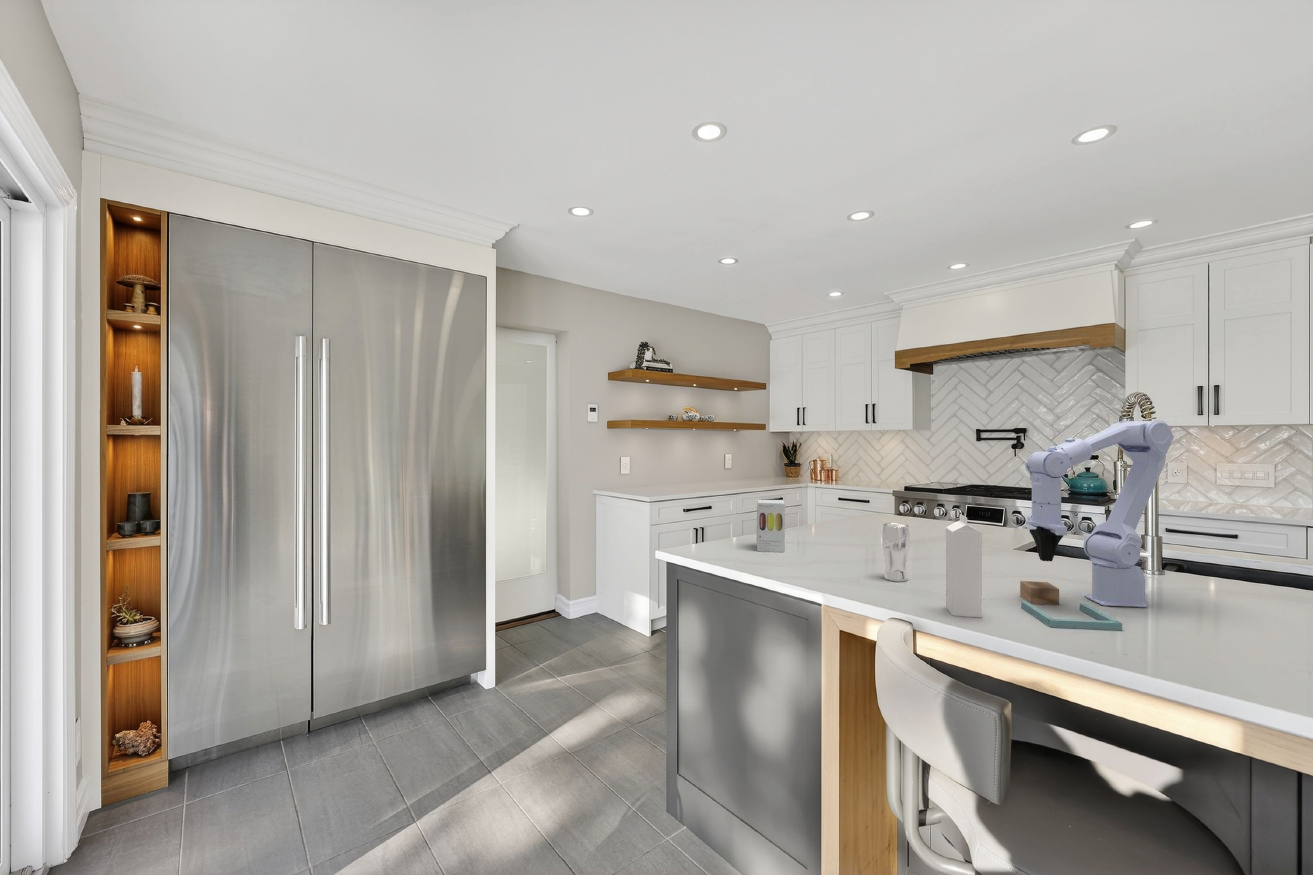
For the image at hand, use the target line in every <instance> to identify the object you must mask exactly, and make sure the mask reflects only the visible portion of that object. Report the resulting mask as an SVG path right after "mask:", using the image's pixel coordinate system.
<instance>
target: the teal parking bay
mask: <svg viewBox="0 0 1313 875" xmlns="http://www.w3.org/2000/svg"><path fill="white" fill-rule="evenodd" d="M1020 606H1021V607H1020V608H1021V609H1023V610H1024V611H1025V612H1027V613H1029V614H1030V615H1031V616H1033V617H1035V619H1036V620H1037V619H1038V620H1039V621H1041V622H1042V623H1043V624H1045V625H1046V626H1048V627H1049V628H1053V629H1054V628H1057V629H1079V630H1080V629H1081V630H1103V631H1105V630H1106V631H1123V622H1121V621H1118V620H1117V619H1115V618H1113V617H1111V616H1109V615H1108V614H1107V613H1104V612H1102V611H1100V610H1098V609H1096V608H1095V607H1093V606H1091V605H1089V604H1087V603H1079V611H1080V612H1082V613H1084V614H1086V615H1088V616H1089V617H1091V618H1093V619H1075V618H1074V619H1069V618H1053V617H1052V616H1050V615H1049V614H1048V613H1046V612H1044V611H1042V610H1041V609H1039V608H1038V607H1036V606H1035V605H1034V604H1030V603H1029V602H1028V601H1026V600H1024V601H1023V600H1022V601H1021V602H1020Z"/></svg>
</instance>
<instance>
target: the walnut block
mask: <svg viewBox="0 0 1313 875" xmlns="http://www.w3.org/2000/svg"><path fill="white" fill-rule="evenodd" d="M1019 582H1020V583H1019V589H1020V590H1019V597H1020V598H1022V599H1023V600H1024V601H1027V602H1029V603H1030V604H1032V605H1047V606H1048V605H1051V606H1060V588H1058V587H1057V586H1056V585H1053V584H1051V583H1049V582H1048V581H1027V580H1020V581H1019Z"/></svg>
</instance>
